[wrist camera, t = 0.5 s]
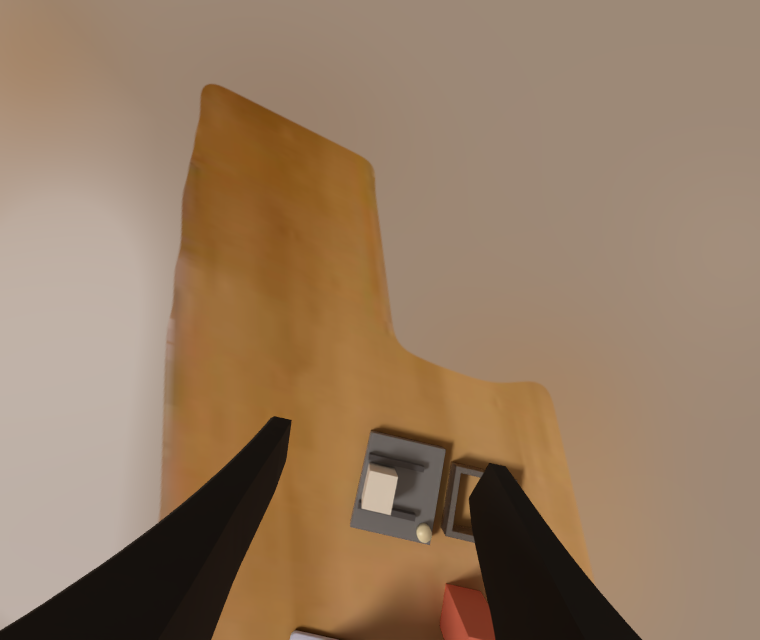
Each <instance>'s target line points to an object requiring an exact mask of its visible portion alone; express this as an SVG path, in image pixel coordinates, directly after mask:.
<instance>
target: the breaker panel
mask: <svg viewBox="0 0 760 640" xmlns="http://www.w3.org/2000/svg"><path fill="white" fill-rule="evenodd" d="M445 451H446V450H445V449H444V448H443V447H440V446H436V445H432V444H427V443H423V442H419V441H415V440H410V439H406V438H402V437H397V436H393V435H389V434H385V433H380V432H376V431H372V430H371V432H370V436H369V441H368V445H367V450H366V454H365V458H364V463H363V467H362V472H361V476H360V481H359V485H358V490H357V494H356V499H355V503H354V508H353V512H352V517H351V522H350V527H353V528H358V529H362V530H366V531H371V532H375V533H379V534H384V535H388V536H393V537H397V538H401V539H406V540H410V541H414V542H419V543H423V544H427V545H430V541H431V538H432V529H433V523H434V517H435V511H436V505H437V499H438V493H439V487H440V481H441V475H442V469H443V463H444V457H445ZM369 462H370V463H374V464H378V465H383V466H387V467H391V468H395V471H396V473H397V476H398V480H397V485H396V490H395V495H394V500H393V505H392V510H391V515H387V514H383V513H379V512H374V511H370V510H366V509H362V492H363V488H364V483H365V479H366V474H367V469H368V465H369Z"/></svg>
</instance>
